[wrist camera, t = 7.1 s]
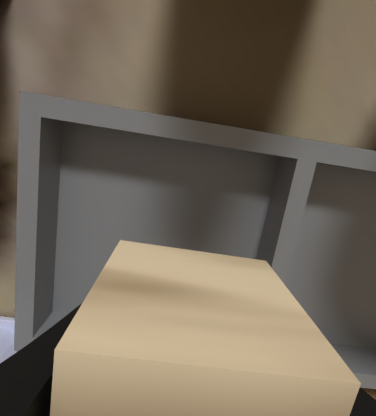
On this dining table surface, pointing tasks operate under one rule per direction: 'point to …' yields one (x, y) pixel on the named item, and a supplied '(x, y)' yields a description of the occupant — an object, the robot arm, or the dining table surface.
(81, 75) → the dining table surface
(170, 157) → the tray
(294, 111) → the dining table surface
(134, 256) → the maple cube
